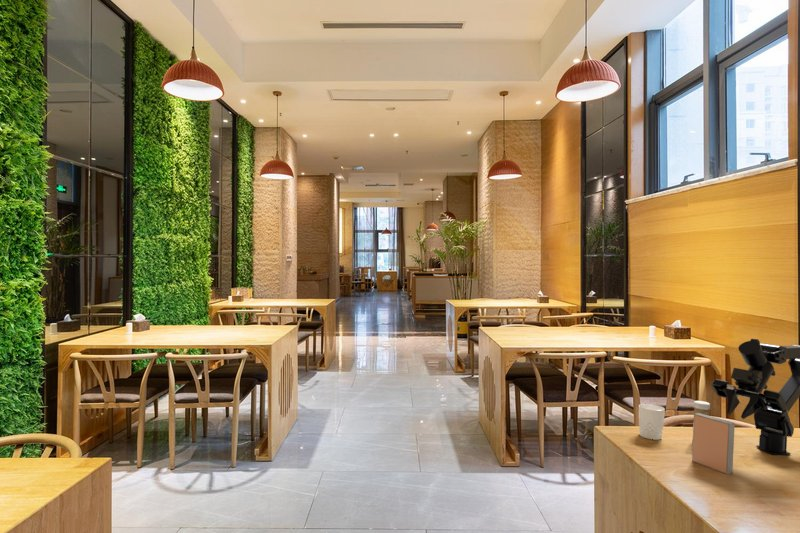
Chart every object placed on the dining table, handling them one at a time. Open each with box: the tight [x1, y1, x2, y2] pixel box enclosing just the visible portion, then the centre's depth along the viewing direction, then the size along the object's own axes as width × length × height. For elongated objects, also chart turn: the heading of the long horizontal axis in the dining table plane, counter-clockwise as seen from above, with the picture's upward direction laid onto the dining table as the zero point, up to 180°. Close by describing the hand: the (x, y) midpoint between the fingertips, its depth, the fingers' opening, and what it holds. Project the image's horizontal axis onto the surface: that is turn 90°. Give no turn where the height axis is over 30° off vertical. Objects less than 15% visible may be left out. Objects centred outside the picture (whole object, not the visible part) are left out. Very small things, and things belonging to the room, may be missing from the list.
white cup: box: [638, 403, 666, 441], centre depth 169 cm, size 8×8×10 cm
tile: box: [691, 413, 736, 475], centre depth 144 cm, size 3×10×14 cm, turn 28°
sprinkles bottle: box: [691, 400, 711, 442], centre depth 164 cm, size 5×5×14 cm
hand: (735, 415), depth 149 cm, fingers open, 4 cm apart
